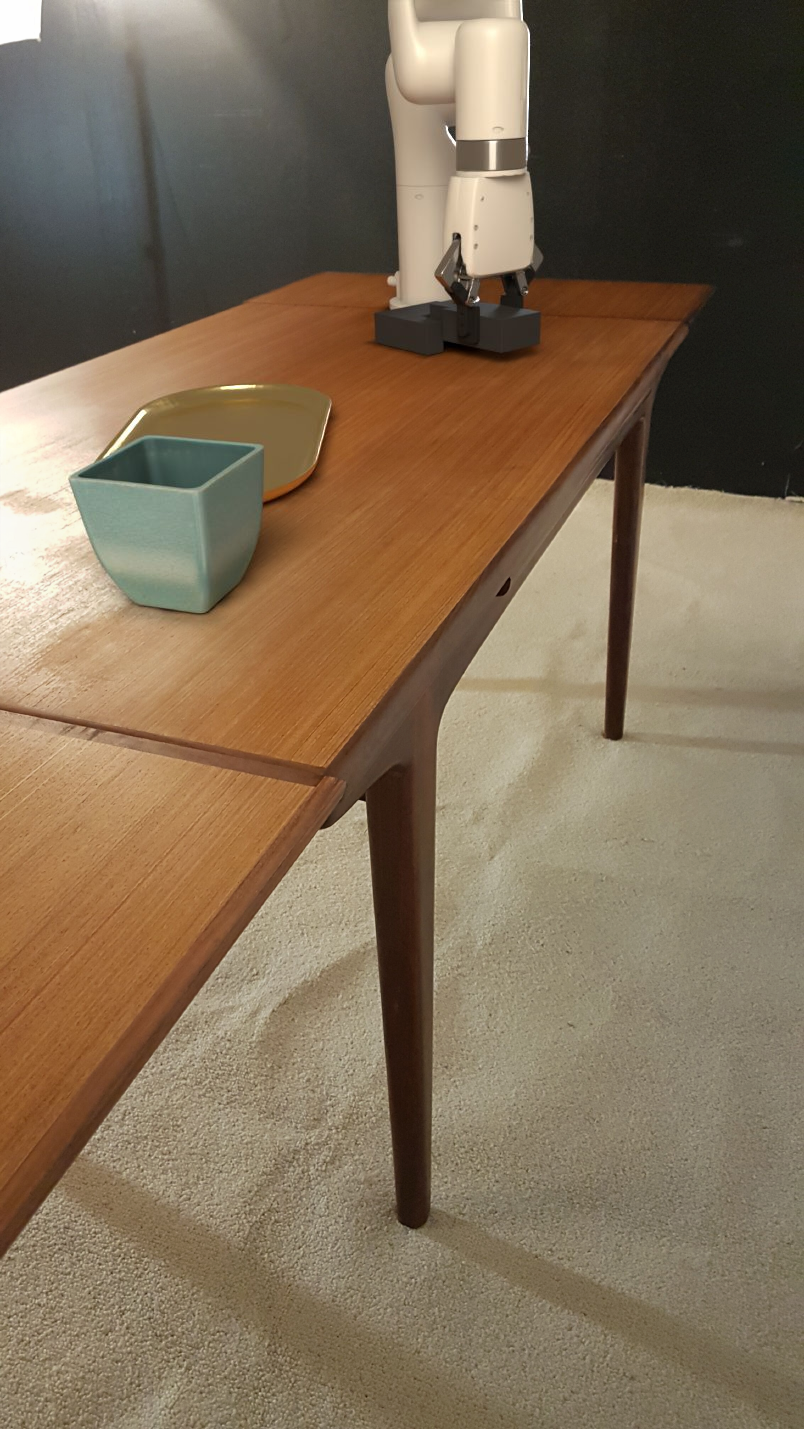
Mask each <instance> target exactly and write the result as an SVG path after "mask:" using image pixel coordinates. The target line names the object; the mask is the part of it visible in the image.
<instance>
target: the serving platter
mask: <svg viewBox="0 0 804 1429" xmlns="http://www.w3.org/2000/svg"><path fill="white" fill-rule="evenodd" d="M331 411H332V400H331V399H330V397H329V396H328V395H327V394H325V393H324V392H321V391H320V390H317V389H314V388H311V387H306V386H304V385H303V386H302V385H297V384H290V383H289V384H288V383H279V382H278V383H277V382H276V383H275V382H240V383H226V384H216V385H208V386H202V387H196V388H190V389H186V390H185V389H184V390H181V391H178V392H174V393H170V394H167V395H163V396H161V397H158V398H155V399H153V400H151V401H149V402H147V403H145V404H144V405H142V406H140V407H139V408H138V409H137V410H136V411H135V412H134V414H133V415H132V416H131V417H130V418H129V419H128V421H127V422H126V423H125V424H124V426H122V428H121V429H120V430H119V432H118V433H116V435H115V436H114V437H113V439H112V440H111V441H110V442H109V444H107V446H106V447H105V448H104V450H103V451H102V452H101V453H100V454H99V456H97V457H96V459H95V460H94V462H96V461H98V460H100V459H102V458H104V457H106V456H107V455H109V454H111V453H113V452H115V451H117V450H118V449H120V448H122V447H123V446H126V445H127V444H129V443H130V442H132V441H134V440H136V439H138V438H141V437H143V436H146V435H158V436H170V437H182V438H194V439H205V440H216V441H227V442H239V443H252V444H261V445H263V446H264V477H263V504H264V503H266V502H270V501H273V500H274V499H275V500H276V499H277V498H280V497H282V496H284V495H286V494H288V493H289V492H291V491H293V490H294V489H296V488H298V487H299V486H300V485H301V484H303V483H304V482H305V481H306V480H307V479H308V478H309V477H310V475H311V474H312V473H313V472H314V470H315V468H316V466H317V464H318V460H319V457H320V453H321V448H322V445H323V441H324V438H325V434H326V429H327V426H328V423H329V422H328V421H329V418H330V414H331Z"/></svg>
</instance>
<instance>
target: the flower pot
mask: <svg viewBox="0 0 804 1429" xmlns="http://www.w3.org/2000/svg"><path fill="white" fill-rule="evenodd" d="M263 477H264V446H263V445H261V444H252V443H239V442H227V441H216V440H205V439H194V438H182V437H170V436H158V435H146V436H143V437H141V438H138V439H136V440H134V441H132V442H130V443H129V444H127V445H126V446H123V447H122V448H120V449H118V450H117V451H115V452H113V453H111V454H109V455H107V456H106V457H104V458H102V459H100V460H98V461H96V462H95V461H93V463H90V464H88V465H87V466H85V467H83V468H81V469H79V470H77V471H76V472H74V473H72V474H71V475H70V476H68V478H67V479H68V483H69V486H70V488H71V491H72V492H71V493H72V494H73V497H74V500H75V503H76V506H77V509H78V511H79V515H80V518H81V520H82V523H83V527H84V529H85V532H86V535H87V537H88V540H89V543H90V545H91V548H92V550H93V552H94V554H95V557H96V558H97V560H98V562H99V563H100V565H101V567H102V568H103V570H104V571H105V573H106V574H107V575H108V577H109V578H110V579H111V580H112V582H113V583H114V584H115V585H116V586H117V587H118V589H120V590H121V591H122V592H123V593H124V594H125V595H126V596H127V597H128V598H129V599H130V600H131V601H132V602H133V603H134V604H136V605H140V606H145V607H152V608H161V609H167V610H174V611H181V612H186V613H193V614H194V613H195V614H205V613H207V612H208V611H210V610H211V609H212V608H214V606H215V605H216V604H218V602H220V601H221V600H222V599H223V598H225V596H226V595H227V594H229V593H230V592H231V591H232V590H233V589H234V588H235V587H236V586H238V585H239V583H240V582H241V581H242V578H244V577H243V576H244V575H245V573H246V571H247V569H248V567H249V564H250V562H251V560H252V558H253V556H254V553H255V550H256V547H257V543H258V540H259V536H260V532H261V527H262V521H263V509H264V508H263V505H264V503H263Z"/></svg>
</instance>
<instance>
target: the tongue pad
mask: <svg viewBox="0 0 804 1429" xmlns="http://www.w3.org/2000/svg"><path fill="white" fill-rule="evenodd" d="M475 305H477V306H479V308H480V340H479V342H478V343H476V344H472V343H467V342H462V341H458V339H457V304H453V303H452V301H451V300H447V301H442V302H436V303H431V304H430V318H432V319H436V320H441V321H442V340H443V342H449V343H452V344H458V345H462V346H467V347H471V348H476V349H481V350H486V351H490V352H495V353H498V354H499V353H500V354H504V353H508V352H512V351H516V350H520V349H521V350H522V349H525V348H530V347H532V346H537V345H540V344H541V318H542V317H541V316H542V315H541V314H542V312H541V311H540V310H533V309H527V308H523V309H522V308H516V307H510V306H504V305H500V304H499V303H498V304H497V303H491V302H487V301H486V302H485V301H479V302H475Z"/></svg>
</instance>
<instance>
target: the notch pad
mask: <svg viewBox="0 0 804 1429" xmlns="http://www.w3.org/2000/svg"><path fill="white" fill-rule="evenodd" d="M436 302H440V301H433V302H428V303H423V304H418V305H413V306H407V307H402V308H397V309H392V310H390V309H387V310H382V311H378V312H374V313H373V317H374V318H373V320H374V337H375V343H376V344H379V345H383V346H387V347H392V348H396V349H399V350H403V351H408V352H411V353H412V352H413V353H415V354H416V353H417V354H421V355H423V356H424V355H425V356H432V355H435V354H439V353H443V352H444V350H445V349H444V341H443V340H442V321H441V320H436V319H432V318H430V304H431V303H436Z"/></svg>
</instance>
